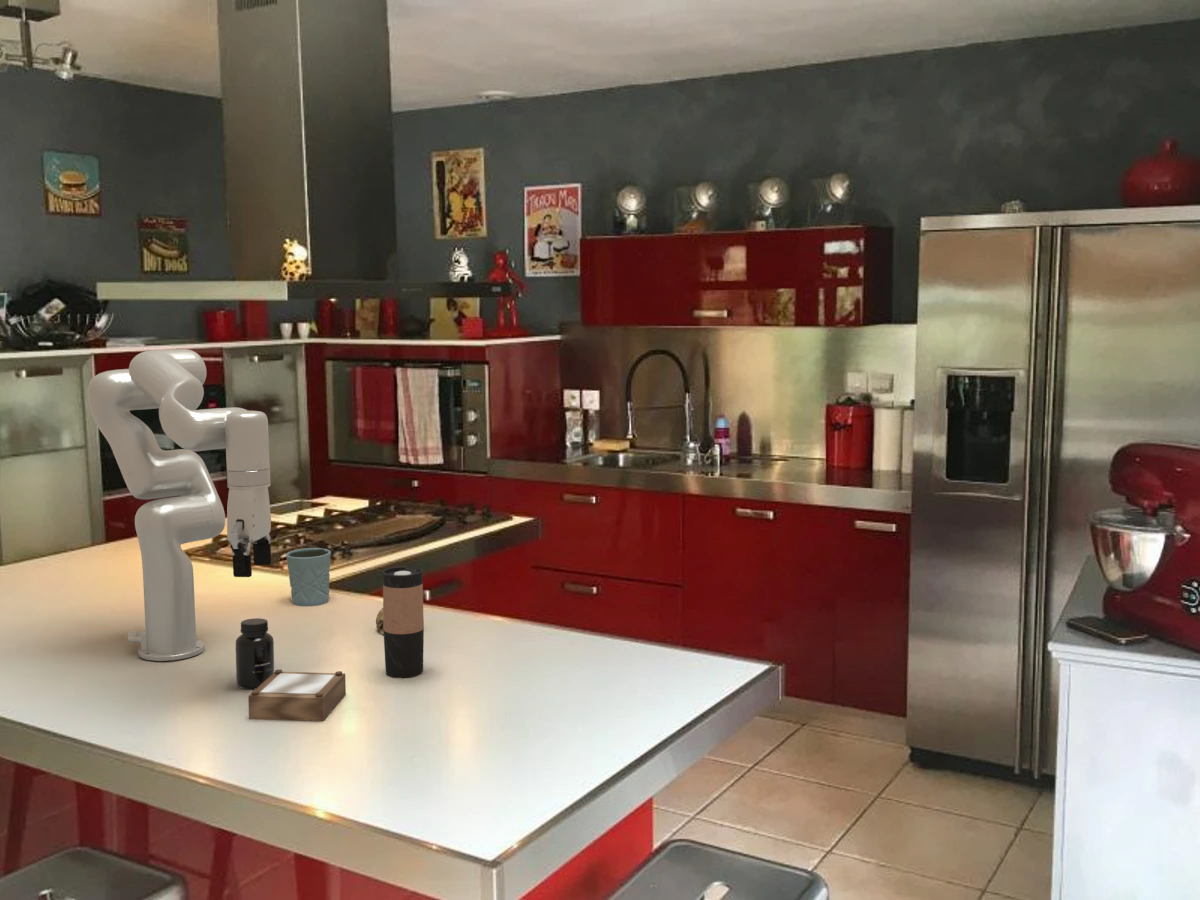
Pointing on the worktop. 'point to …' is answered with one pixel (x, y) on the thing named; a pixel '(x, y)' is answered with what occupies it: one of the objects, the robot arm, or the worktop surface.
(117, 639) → the worktop surface
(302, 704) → the walnut base block
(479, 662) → the worktop surface
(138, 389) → the robot arm
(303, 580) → the drinking glass
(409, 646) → the travel mug
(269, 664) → the supplement bottle
